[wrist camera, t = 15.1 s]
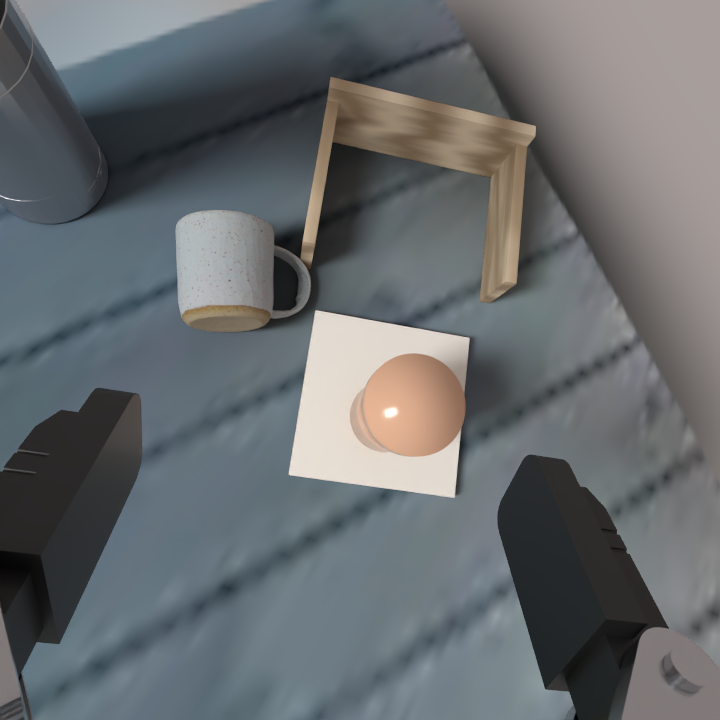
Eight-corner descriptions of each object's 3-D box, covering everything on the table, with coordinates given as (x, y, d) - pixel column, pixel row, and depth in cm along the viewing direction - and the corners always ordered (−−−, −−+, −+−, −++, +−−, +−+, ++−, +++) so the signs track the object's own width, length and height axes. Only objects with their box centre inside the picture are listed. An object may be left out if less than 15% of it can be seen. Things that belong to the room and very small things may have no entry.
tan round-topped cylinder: (339, 451, 42) (358, 449, 32) (350, 371, 43) (372, 345, 34) (419, 462, 43) (461, 463, 33) (427, 383, 44) (469, 361, 35)
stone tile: (288, 474, 42) (288, 474, 41) (314, 313, 45) (315, 310, 44) (450, 496, 44) (454, 497, 43) (465, 340, 47) (469, 337, 46)
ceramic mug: (186, 338, 43) (169, 313, 35) (184, 246, 44) (167, 203, 37) (312, 333, 45) (321, 308, 37) (306, 246, 46) (313, 205, 39)
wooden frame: (299, 267, 45) (303, 233, 39) (323, 130, 48) (330, 76, 42) (489, 303, 48) (525, 277, 41) (501, 170, 51) (536, 126, 44)
